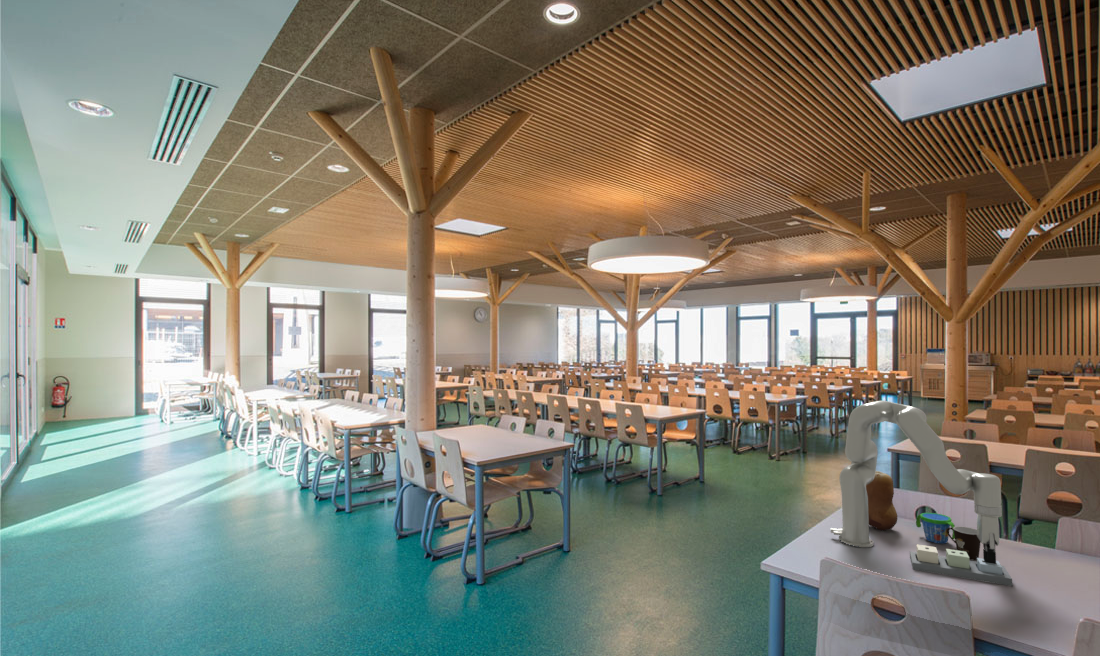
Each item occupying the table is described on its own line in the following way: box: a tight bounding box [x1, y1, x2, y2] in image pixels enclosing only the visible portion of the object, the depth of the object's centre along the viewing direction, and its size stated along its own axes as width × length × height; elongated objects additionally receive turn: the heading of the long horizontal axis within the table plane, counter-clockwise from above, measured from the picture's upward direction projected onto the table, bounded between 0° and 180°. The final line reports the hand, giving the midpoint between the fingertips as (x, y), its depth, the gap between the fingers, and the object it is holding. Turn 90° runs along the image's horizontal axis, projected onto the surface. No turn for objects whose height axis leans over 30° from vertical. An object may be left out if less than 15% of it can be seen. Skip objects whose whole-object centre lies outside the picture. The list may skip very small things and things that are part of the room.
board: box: [909, 550, 1013, 587], centre depth 192 cm, size 28×12×2 cm, turn 60°
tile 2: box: [976, 557, 1003, 575], centre depth 187 cm, size 6×6×4 cm
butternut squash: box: [866, 470, 898, 532], centre depth 236 cm, size 14×13×25 cm
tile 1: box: [916, 543, 939, 564], centre depth 196 cm, size 6×6×4 cm
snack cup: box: [915, 512, 956, 545], centre depth 220 cm, size 16×10×10 cm
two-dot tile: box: [945, 548, 970, 569], centre depth 192 cm, size 6×6×4 cm
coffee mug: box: [947, 525, 982, 561], centre depth 206 cm, size 12×9×10 cm
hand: (989, 561), depth 187 cm, fingers closed
